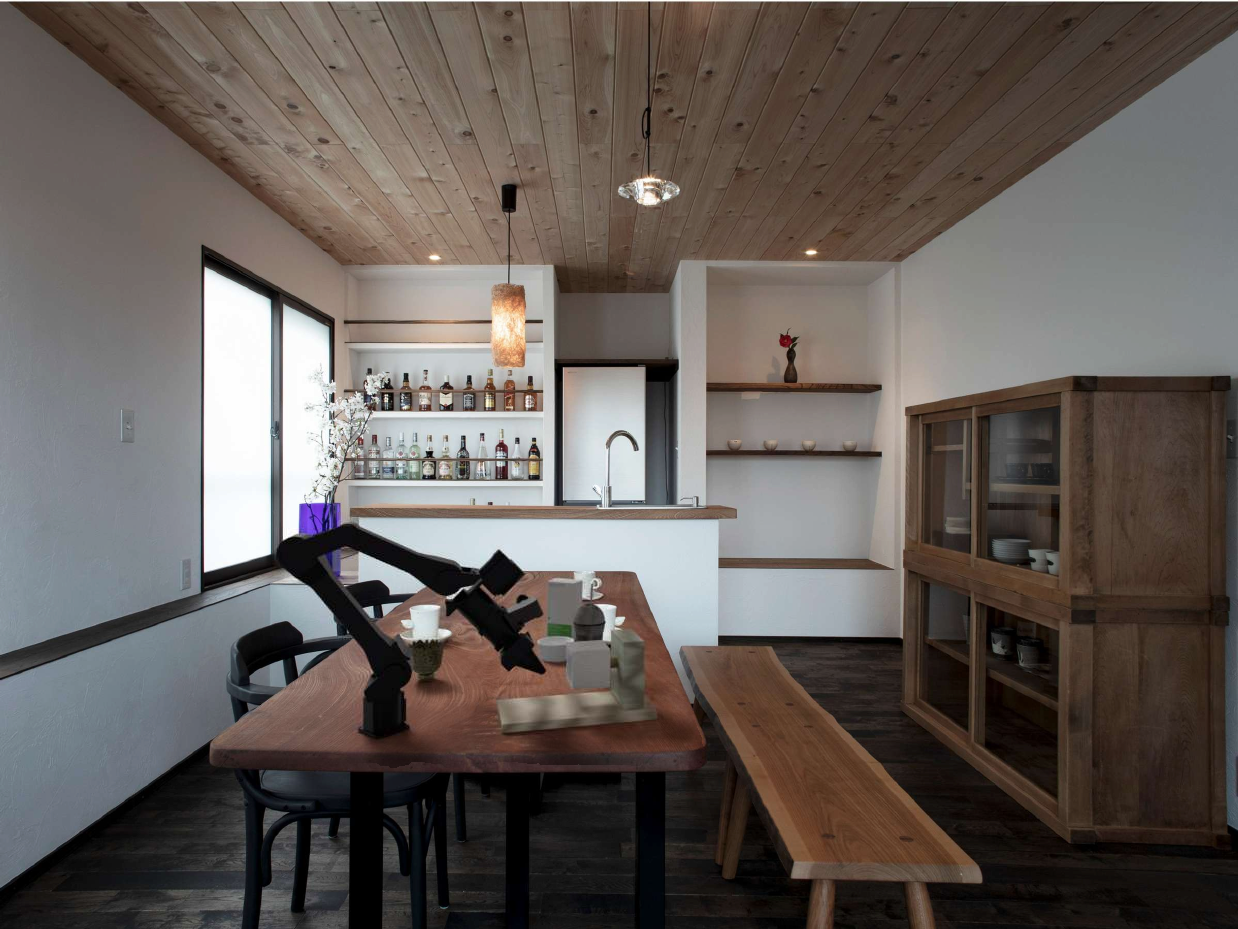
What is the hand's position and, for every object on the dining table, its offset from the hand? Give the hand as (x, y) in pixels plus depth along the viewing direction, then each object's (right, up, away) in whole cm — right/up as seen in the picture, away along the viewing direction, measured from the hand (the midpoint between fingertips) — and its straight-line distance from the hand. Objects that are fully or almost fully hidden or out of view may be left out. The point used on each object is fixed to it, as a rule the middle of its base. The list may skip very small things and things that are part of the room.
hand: (544, 672), depth 128 cm
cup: (-28, -8, +22) cm, 36 cm away
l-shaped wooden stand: (+6, -8, +1) cm, 10 cm away
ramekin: (-1, -9, +39) cm, 40 cm away
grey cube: (+8, -3, +2) cm, 9 cm away
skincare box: (-1, -9, +59) cm, 60 cm away
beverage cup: (+7, -8, +26) cm, 28 cm away
